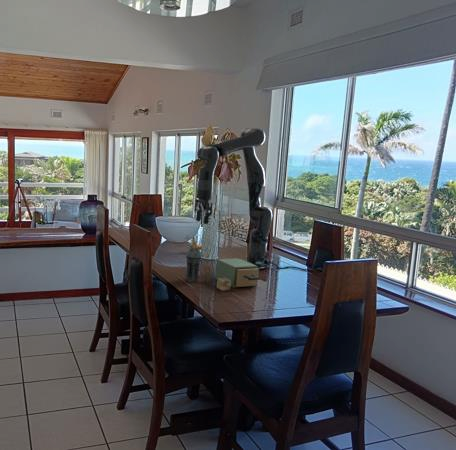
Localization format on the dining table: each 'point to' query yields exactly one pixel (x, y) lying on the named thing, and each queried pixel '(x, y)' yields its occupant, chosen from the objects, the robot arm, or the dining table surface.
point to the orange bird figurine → (193, 244)
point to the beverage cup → (193, 263)
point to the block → (223, 284)
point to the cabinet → (230, 268)
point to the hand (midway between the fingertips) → (201, 222)
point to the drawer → (246, 277)
